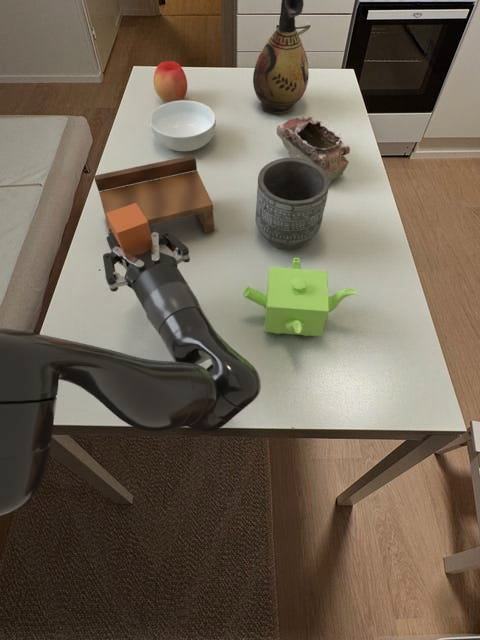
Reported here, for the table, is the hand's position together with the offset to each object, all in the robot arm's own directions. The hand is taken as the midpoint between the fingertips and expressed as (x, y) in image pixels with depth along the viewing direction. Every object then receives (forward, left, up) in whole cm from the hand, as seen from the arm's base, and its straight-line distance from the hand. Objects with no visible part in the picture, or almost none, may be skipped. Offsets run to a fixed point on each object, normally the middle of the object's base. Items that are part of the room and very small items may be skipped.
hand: (127, 230), depth 69 cm
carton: (0, -3, -7) cm, 7 cm away
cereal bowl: (+22, +47, -18) cm, 55 cm away
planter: (+34, +6, -18) cm, 38 cm away
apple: (+24, +68, -18) cm, 74 cm away
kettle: (+26, -16, -18) cm, 35 cm away
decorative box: (+48, +27, -18) cm, 57 cm away
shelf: (+8, +18, -17) cm, 26 cm away
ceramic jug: (+53, +56, -18) cm, 79 cm away
